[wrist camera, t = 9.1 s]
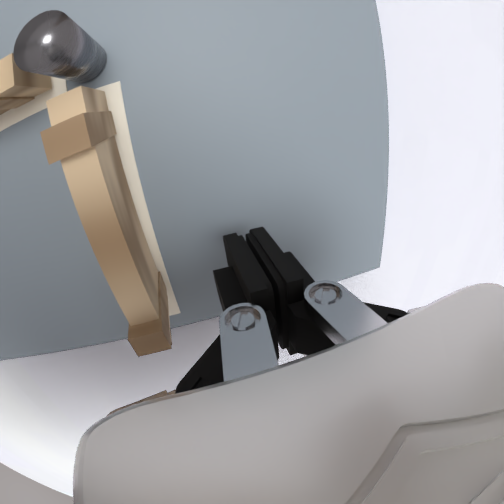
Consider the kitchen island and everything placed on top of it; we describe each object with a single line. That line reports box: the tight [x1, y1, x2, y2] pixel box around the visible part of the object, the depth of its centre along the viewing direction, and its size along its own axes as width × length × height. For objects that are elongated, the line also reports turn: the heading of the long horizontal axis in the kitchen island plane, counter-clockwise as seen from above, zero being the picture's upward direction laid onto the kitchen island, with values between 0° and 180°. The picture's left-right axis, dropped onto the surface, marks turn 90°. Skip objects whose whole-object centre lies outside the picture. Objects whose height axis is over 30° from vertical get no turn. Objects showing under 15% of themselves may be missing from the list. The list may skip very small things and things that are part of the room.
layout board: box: [0, 0, 389, 360], centre depth 10 cm, size 28×22×1 cm
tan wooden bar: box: [40, 86, 172, 357], centre depth 10 cm, size 10×1×4 cm, turn 11°
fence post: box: [13, 10, 107, 83], centre depth 6 cm, size 2×2×6 cm
